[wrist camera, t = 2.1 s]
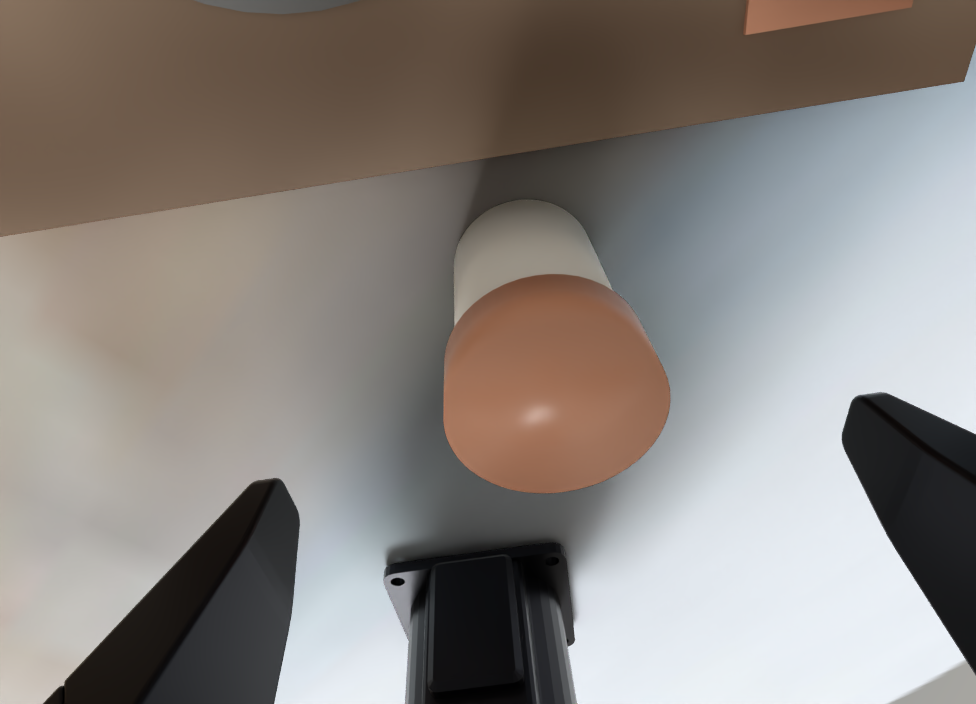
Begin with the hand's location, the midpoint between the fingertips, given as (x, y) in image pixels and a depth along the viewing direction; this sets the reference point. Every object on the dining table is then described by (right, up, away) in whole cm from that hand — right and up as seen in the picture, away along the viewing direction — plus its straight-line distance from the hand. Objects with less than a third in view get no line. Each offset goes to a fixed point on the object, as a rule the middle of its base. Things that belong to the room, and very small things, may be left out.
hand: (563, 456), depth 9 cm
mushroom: (0, +4, +5) cm, 6 cm away
